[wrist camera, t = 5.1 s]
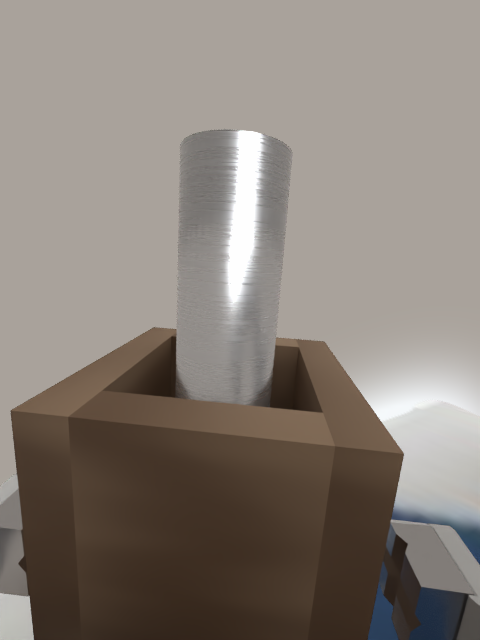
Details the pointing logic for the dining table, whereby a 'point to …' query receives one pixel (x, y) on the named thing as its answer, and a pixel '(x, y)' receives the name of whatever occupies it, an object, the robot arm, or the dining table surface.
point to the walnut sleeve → (203, 502)
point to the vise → (230, 264)
